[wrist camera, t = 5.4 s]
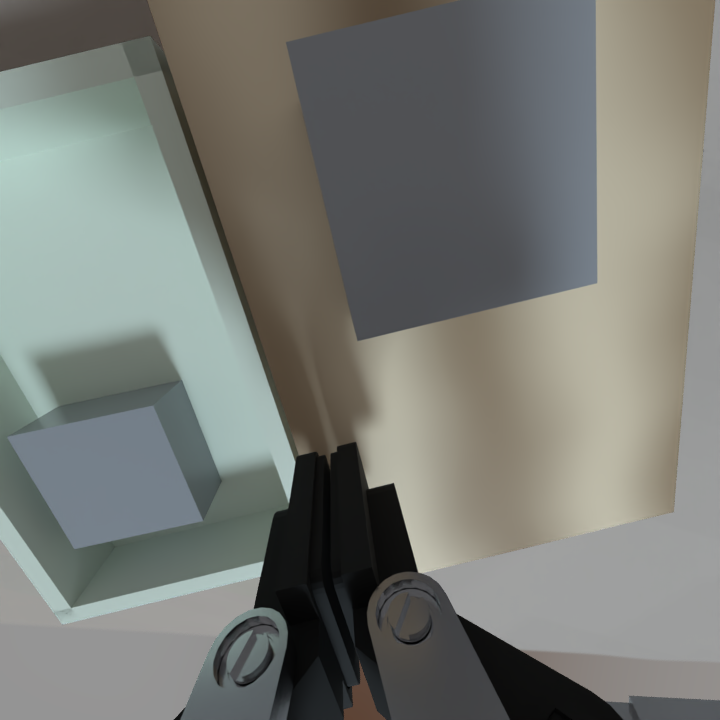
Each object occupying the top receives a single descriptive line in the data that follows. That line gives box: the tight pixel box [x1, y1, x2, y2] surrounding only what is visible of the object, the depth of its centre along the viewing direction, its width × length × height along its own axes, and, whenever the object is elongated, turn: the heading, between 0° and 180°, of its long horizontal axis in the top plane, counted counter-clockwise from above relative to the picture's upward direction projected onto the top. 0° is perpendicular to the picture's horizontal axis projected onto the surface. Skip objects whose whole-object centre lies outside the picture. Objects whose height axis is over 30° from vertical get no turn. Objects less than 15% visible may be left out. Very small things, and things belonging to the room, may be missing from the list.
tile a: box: [7, 380, 222, 549], centre depth 14 cm, size 5×5×2 cm
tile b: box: [286, 0, 597, 341], centre depth 7 cm, size 5×5×2 cm
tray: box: [0, 36, 299, 625], centre depth 13 cm, size 11×17×4 cm, turn 13°
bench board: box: [147, 0, 715, 573], centre depth 12 cm, size 12×17×5 cm
